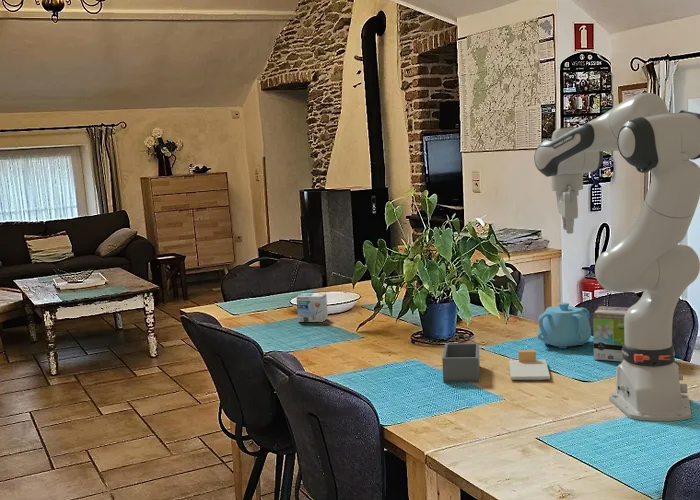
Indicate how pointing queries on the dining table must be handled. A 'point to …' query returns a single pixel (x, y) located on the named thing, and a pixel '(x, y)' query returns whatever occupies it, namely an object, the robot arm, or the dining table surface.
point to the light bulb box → (312, 307)
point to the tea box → (608, 333)
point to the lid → (528, 367)
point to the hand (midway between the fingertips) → (568, 231)
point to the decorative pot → (564, 326)
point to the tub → (461, 363)
